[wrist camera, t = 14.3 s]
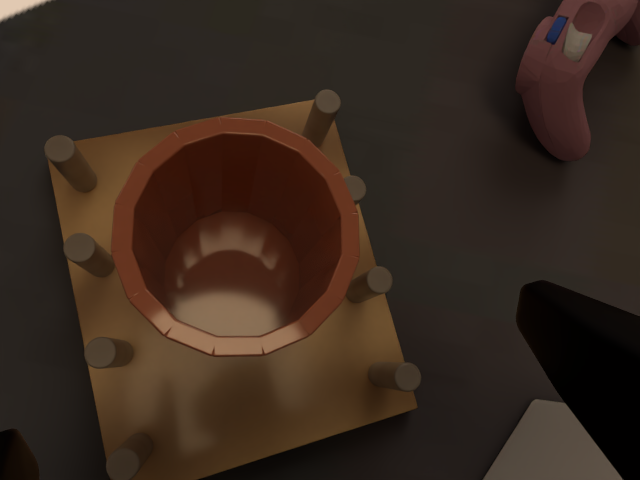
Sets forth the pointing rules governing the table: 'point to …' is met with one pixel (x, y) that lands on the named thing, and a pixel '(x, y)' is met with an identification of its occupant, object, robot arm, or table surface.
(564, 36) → the video game controller
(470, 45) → the table surface
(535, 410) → the jar
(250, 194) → the cup
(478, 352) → the table surface
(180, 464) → the dish rack
